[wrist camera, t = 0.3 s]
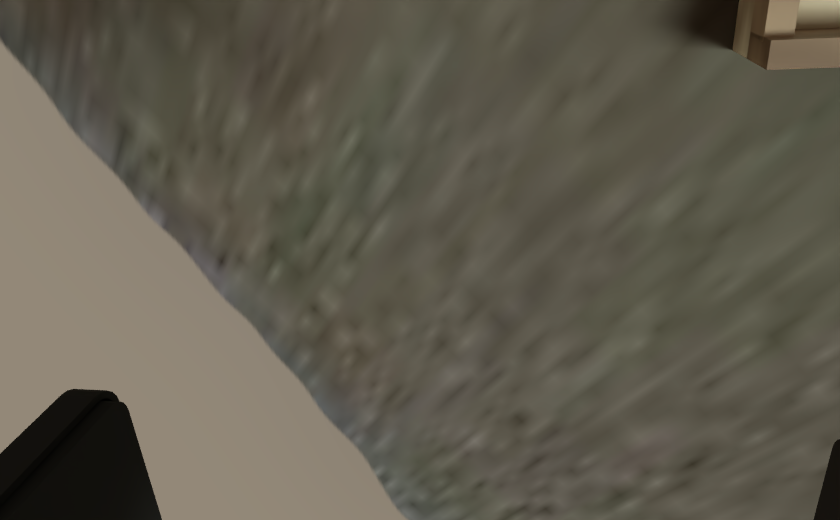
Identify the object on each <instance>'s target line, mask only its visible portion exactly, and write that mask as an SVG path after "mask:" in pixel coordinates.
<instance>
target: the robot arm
mask: <svg viewBox="0 0 840 520" xmlns="http://www.w3.org/2000/svg"><path fill="white" fill-rule="evenodd" d="M0 520H162V519H161V515H160V512H159V508H158V505H157V502H156V499H155V495H154V492H153V489H152V485H151V482H150V479H149V476H148V472H147V470H146V466H145V463H144V459H143V456H142V453H141V450H140V446H139V443H138V440H137V436H136V433H135V430H134V427H133V423H132V420H131V417H130V413H129V410H128V408H127V406H126V405H125V404H124V403H123V402H119V400H118V398H117V396H116V395H115V394H114V393H113V392H110V391H103V390H83V389H72V390H68V391H66V392H65V393H63V394H62V395H61V396H60V397H59V398H58V399H57V400H56V401H55V402H54V403H53V404H52V405H50V406H49V407H48V409H46V410H45V411H44V412H43V413H42V414H41V415H40V416H39V417H38V418H37V419H36V420H35V421H34V422H33V423H32V424H31V425H30V426H29V427H28V428H27V429H25V431H23V432H22V433H21V434H20V436H19V437H17V438H16V439H15V440H14V441H13V442H12V443H11V444H10V445H9V446H8V447H7V448H6V449H5V450H4V451H3V452H2V453H1V454H0ZM814 520H840V439H839V440H837V441H836V442H835V443H834V445H833V448H832V452H831V455H830V459H829V463H828V467H827V471H826V474H825V478H824V482H823V486H822V490H821V494H820V497H819V501H818V505H817V509H816V513H815V517H814Z"/></svg>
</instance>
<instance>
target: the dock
mask: <svg viewBox="0 0 840 520" xmlns="http://www.w3.org/2000/svg"><path fill="white" fill-rule="evenodd" d="M733 51H734V52H736V53H738V54H740V55H742V56H743V57H745V58H747V59H749V60H750V61H752V62H754V63H756V64H757V65H759V66H761V67H763V68H764V69H766V70H774V69H803V68H833V67H840V0H739V5H738V13H737V20H736V28H735V35H734V43H733Z"/></svg>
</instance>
